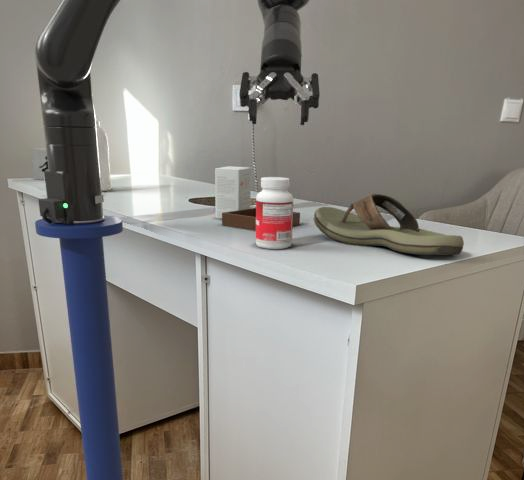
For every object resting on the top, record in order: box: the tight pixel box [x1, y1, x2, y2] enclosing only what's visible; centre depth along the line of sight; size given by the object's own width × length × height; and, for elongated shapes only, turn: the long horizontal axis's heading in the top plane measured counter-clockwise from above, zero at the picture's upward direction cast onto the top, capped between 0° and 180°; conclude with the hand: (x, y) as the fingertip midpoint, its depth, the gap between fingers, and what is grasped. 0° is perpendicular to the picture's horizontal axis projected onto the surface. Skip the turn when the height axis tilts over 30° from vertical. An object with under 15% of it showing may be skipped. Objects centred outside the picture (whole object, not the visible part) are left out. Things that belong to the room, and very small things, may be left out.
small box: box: [214, 165, 252, 220], centre depth 122 cm, size 8×6×10 cm
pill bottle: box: [255, 176, 294, 250], centre depth 92 cm, size 6×6×11 cm
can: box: [95, 118, 112, 193], centre depth 164 cm, size 12×12×20 cm
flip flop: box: [313, 193, 465, 256], centre depth 95 cm, size 29×12×8 cm, turn 37°
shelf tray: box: [221, 207, 301, 231], centre depth 114 cm, size 12×11×2 cm
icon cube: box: [30, 147, 49, 180], centre depth 199 cm, size 10×10×10 cm
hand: (278, 121), depth 97 cm, fingers open, 8 cm apart
